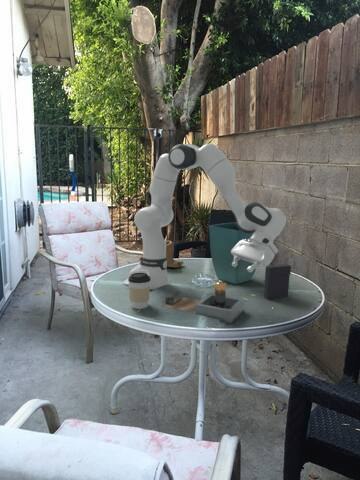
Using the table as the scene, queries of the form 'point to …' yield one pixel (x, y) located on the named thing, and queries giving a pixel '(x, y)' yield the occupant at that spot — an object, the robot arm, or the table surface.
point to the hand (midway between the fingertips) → (240, 268)
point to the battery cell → (220, 294)
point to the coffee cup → (139, 290)
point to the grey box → (277, 281)
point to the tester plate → (180, 302)
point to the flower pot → (228, 253)
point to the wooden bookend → (171, 256)
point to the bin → (223, 313)
